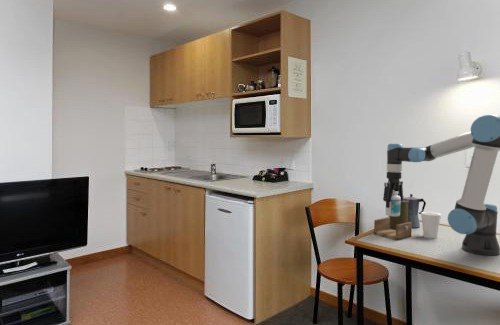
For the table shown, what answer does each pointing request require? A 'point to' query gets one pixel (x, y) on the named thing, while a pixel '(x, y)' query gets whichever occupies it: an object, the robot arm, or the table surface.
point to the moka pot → (414, 210)
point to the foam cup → (430, 224)
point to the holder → (384, 230)
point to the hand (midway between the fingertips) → (392, 212)
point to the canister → (403, 215)
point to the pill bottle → (395, 204)
